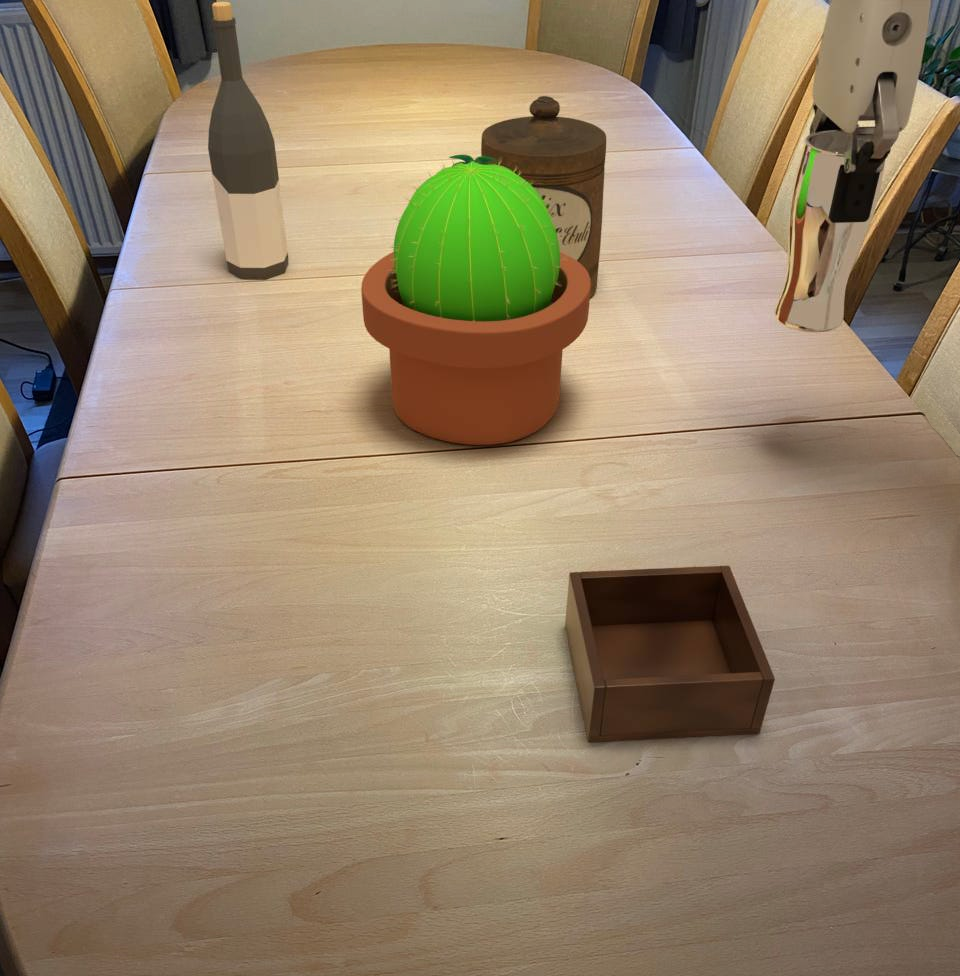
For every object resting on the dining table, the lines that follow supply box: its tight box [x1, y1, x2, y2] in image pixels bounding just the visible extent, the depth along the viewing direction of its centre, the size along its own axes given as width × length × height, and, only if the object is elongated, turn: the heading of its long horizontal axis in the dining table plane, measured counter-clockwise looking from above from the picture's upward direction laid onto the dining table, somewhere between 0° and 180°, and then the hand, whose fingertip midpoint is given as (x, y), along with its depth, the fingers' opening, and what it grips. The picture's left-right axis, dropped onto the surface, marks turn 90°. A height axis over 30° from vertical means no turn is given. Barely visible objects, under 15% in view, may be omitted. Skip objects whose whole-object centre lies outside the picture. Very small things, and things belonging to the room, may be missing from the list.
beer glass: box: [773, 130, 886, 333], centre depth 88 cm, size 7×7×15 cm
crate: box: [564, 565, 776, 743], centre depth 77 cm, size 13×13×6 cm
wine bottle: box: [207, 1, 289, 280], centre depth 125 cm, size 8×8×30 cm
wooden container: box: [480, 95, 607, 298], centre depth 123 cm, size 15×15×22 cm
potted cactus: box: [360, 154, 591, 446], centre depth 101 cm, size 22×22×25 cm
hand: (833, 202), depth 86 cm, fingers closed on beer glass, 7 cm apart
